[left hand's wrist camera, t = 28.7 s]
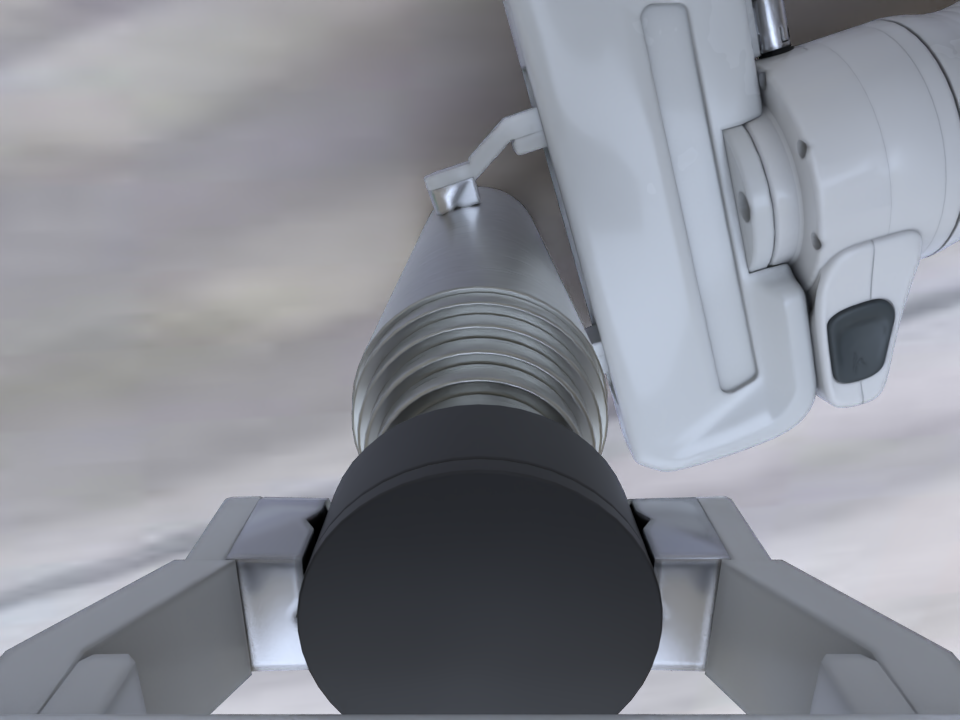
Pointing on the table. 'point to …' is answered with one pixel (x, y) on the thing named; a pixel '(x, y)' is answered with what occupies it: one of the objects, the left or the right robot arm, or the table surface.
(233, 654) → the left robot arm
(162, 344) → the table surface
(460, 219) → the bottle
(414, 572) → the cap
